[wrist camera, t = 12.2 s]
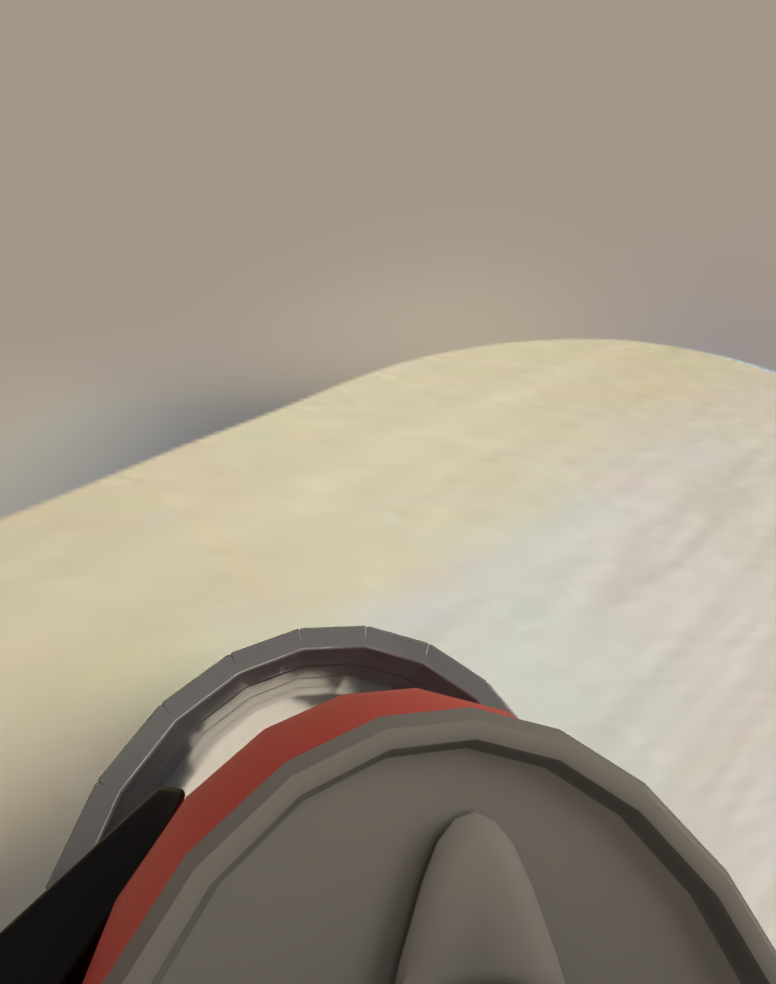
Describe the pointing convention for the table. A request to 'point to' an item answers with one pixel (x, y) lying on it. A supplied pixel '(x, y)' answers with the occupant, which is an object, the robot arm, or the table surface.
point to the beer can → (426, 864)
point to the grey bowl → (258, 712)
